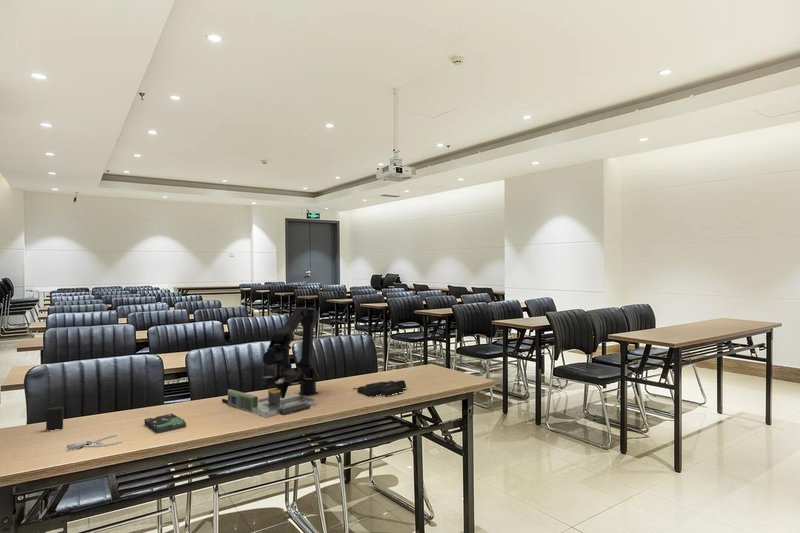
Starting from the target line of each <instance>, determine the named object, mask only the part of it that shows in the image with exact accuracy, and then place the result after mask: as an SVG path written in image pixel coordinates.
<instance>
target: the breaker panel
mask: <svg viewBox="0 0 800 533" xmlns="http://www.w3.org/2000/svg"><path fill="white" fill-rule="evenodd" d="M304 401H307V405H308V404H309V405H310V407H311V406H315V405H317V404H316V399H314V398H312V397H307V396H305V395H301V394H296V393H292V394H287V395H285V397H284V398H281V397H280V403H277V404H271V403H268V400H265V401H260V402H258V406H255V407H253V408H252V410H253V414H256V415H258V416H261V417H263V418H268V417H273V416H276V415H281V414H282V413H279V411H280V410H281V409H282V407H284V406H288V405H292V404H296V403H300V402H304Z"/></svg>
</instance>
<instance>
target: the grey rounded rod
mask: <svg viewBox="0 0 800 533" xmlns="http://www.w3.org/2000/svg"><path fill="white" fill-rule="evenodd" d="M280 397H281V396H280ZM265 400H268V396H267V397H263V398H258V402H260V401H265Z"/></svg>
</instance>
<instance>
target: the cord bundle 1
mask: <svg viewBox="0 0 800 533" xmlns="http://www.w3.org/2000/svg"><path fill="white" fill-rule="evenodd" d="M307 409H311V406H310V405H309V404H308V405H307V401H304V402H300V403H296V404H292V405H288V406H284V407H282V409H281V410H280V411H279V413H281V414H282V415H284V416H285V415H287V414H292V413H296V412H299V411H304V410H307Z"/></svg>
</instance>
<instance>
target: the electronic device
mask: <svg viewBox="0 0 800 533" xmlns="http://www.w3.org/2000/svg"><path fill="white" fill-rule="evenodd" d="M403 388H406V389H407V384H406V382H405V380H395V381H394V380H388V381H379V382H372V383H368V384H365V385H362V386H359V387H353V389H352V390H357V393H359V394H361V393H362V394H361V395H364V394H365V395H364V396H366V395H368V396H367V397H369V396H375V397H377V396H376V395H380V394H381V395H380V396H382V395H385V396H388V395H392V394H395V393H399V392H403V393H404V391H403ZM385 396H384V397H385ZM388 397H389V396H388Z"/></svg>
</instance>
